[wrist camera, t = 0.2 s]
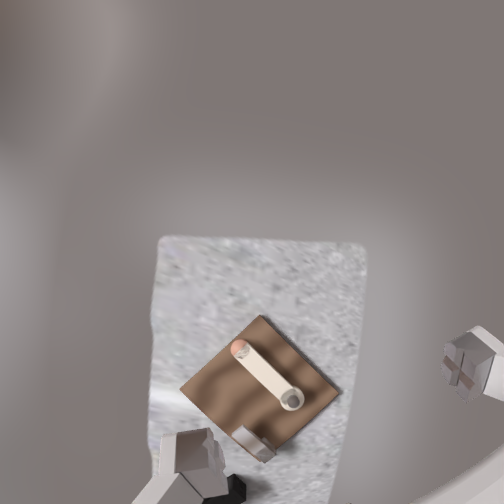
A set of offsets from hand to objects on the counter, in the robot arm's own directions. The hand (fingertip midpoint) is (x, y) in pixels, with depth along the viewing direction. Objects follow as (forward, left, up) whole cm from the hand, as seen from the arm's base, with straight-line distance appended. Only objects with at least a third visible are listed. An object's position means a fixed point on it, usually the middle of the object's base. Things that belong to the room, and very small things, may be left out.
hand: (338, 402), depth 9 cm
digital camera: (-22, +34, -54) cm, 67 cm away
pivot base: (-11, +11, -54) cm, 56 cm away
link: (-8, +7, -52) cm, 53 cm away
